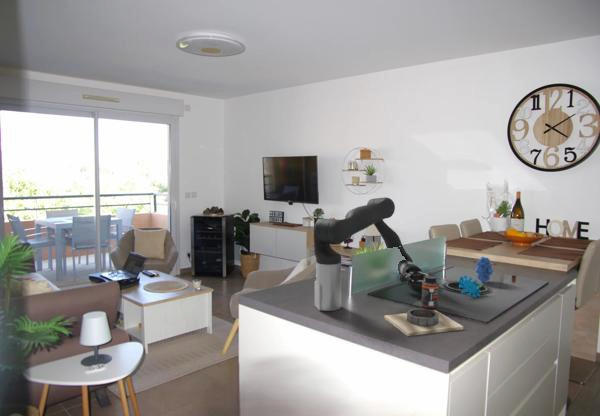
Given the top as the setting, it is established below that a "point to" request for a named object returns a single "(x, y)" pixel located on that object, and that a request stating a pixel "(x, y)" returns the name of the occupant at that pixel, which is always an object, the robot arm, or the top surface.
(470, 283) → the gear
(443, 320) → the birch board
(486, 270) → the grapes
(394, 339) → the top surface
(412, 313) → the metal collar
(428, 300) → the supplement bottle
